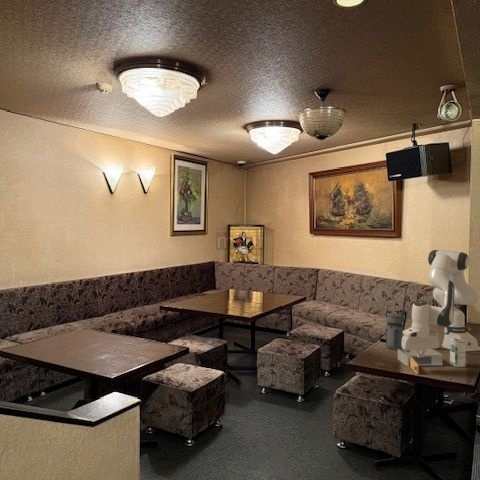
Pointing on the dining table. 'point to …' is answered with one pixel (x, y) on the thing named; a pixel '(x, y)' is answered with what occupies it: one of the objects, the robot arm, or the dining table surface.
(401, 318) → the beverage bottle
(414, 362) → the side door
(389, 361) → the dining table surface
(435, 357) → the grey box
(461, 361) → the syrup box
